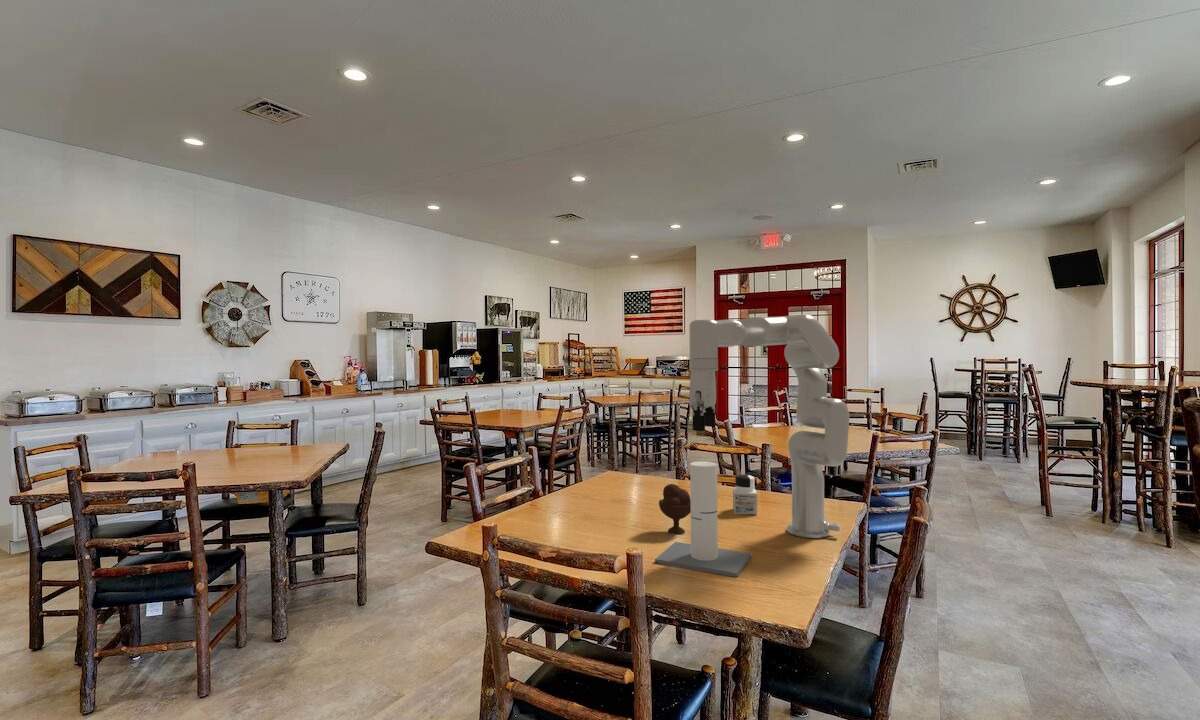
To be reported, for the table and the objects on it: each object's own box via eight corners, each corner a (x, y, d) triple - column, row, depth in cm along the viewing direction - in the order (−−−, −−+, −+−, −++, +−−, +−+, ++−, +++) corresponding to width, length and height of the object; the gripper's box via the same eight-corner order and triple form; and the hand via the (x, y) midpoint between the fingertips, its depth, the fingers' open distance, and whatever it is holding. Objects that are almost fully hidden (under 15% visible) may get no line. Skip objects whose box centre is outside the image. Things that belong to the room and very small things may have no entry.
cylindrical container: (717, 561, 149) (717, 466, 148) (690, 559, 150) (689, 466, 150) (717, 552, 156) (716, 461, 155) (691, 550, 157) (690, 461, 157)
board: (751, 557, 155) (751, 553, 155) (737, 577, 141) (737, 573, 141) (675, 545, 165) (675, 541, 165) (655, 562, 151) (655, 559, 151)
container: (734, 514, 197) (734, 477, 197) (733, 508, 205) (733, 472, 205) (757, 515, 196) (757, 478, 196) (755, 509, 203) (754, 473, 203)
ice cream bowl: (670, 539, 170) (670, 489, 170) (652, 529, 180) (652, 482, 180) (700, 534, 174) (700, 486, 174) (681, 525, 185) (681, 479, 185)
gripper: (699, 364, 162) (700, 424, 162) (679, 366, 147) (680, 431, 147) (725, 364, 159) (726, 425, 159) (708, 366, 143) (708, 433, 143)
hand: (704, 428), depth 153 cm, fingers open, 9 cm apart
